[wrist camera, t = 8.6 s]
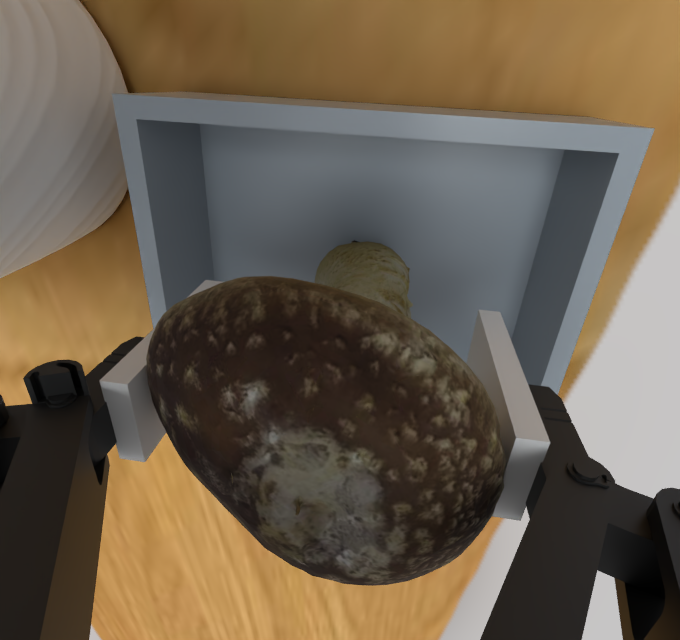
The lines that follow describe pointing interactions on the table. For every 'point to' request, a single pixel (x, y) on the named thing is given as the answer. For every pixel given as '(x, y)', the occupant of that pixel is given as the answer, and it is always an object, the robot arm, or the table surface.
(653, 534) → the robot arm
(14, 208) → the vase
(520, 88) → the table surface
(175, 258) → the bin
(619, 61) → the table surface
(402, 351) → the mushroom
